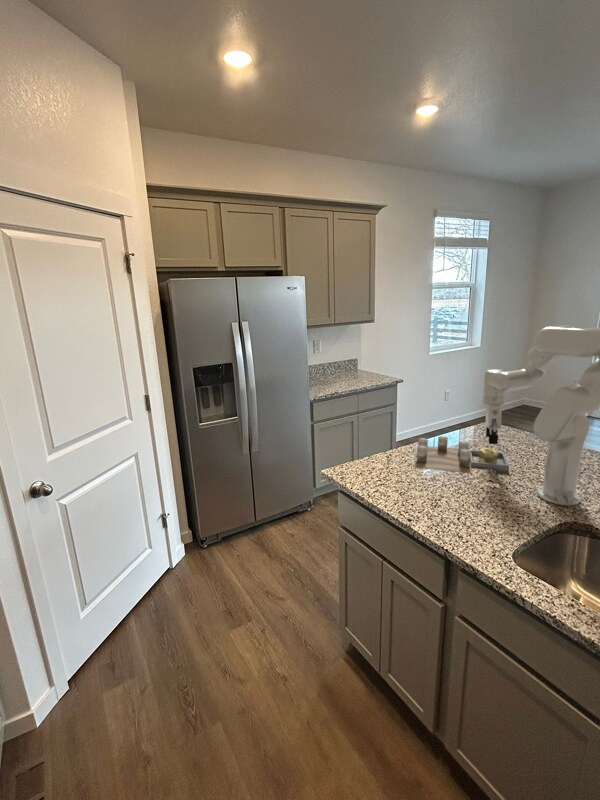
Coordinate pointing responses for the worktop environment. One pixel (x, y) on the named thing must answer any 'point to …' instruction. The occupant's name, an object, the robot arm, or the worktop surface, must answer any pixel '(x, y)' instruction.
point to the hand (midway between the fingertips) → (491, 440)
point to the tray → (499, 466)
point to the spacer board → (443, 456)
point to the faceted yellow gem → (488, 455)
